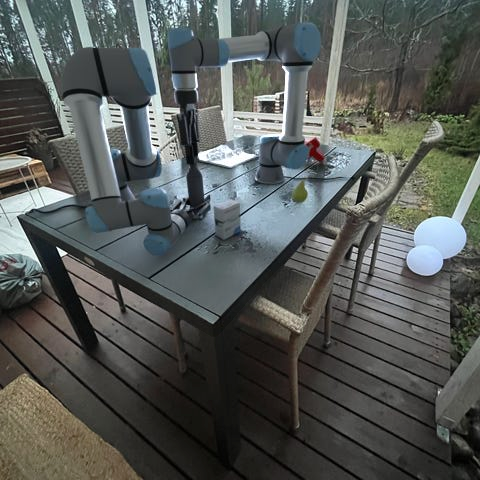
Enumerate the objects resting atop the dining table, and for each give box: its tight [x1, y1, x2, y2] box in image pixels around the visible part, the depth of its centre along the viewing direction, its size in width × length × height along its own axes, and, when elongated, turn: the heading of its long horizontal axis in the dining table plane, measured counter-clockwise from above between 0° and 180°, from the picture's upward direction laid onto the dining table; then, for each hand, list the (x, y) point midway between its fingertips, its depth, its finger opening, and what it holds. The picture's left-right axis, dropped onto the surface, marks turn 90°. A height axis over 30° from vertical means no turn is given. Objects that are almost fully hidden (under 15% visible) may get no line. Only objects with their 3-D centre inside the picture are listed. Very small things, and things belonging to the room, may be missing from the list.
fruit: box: [291, 174, 311, 204], centre depth 118 cm, size 7×8×12 cm
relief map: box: [198, 143, 257, 169], centre depth 179 cm, size 27×35×5 cm
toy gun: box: [304, 136, 326, 164], centre depth 169 cm, size 18×4×15 cm
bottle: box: [185, 163, 207, 220], centre depth 105 cm, size 6×6×23 cm
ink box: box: [213, 198, 242, 240], centre depth 96 cm, size 8×5×12 cm, turn 135°
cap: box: [194, 155, 199, 164], centre depth 99 cm, size 4×4×2 cm
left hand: (201, 196), depth 112 cm, fingers closed on bottle, 6 cm apart
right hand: (192, 162), depth 99 cm, fingers closed on cap, 4 cm apart
